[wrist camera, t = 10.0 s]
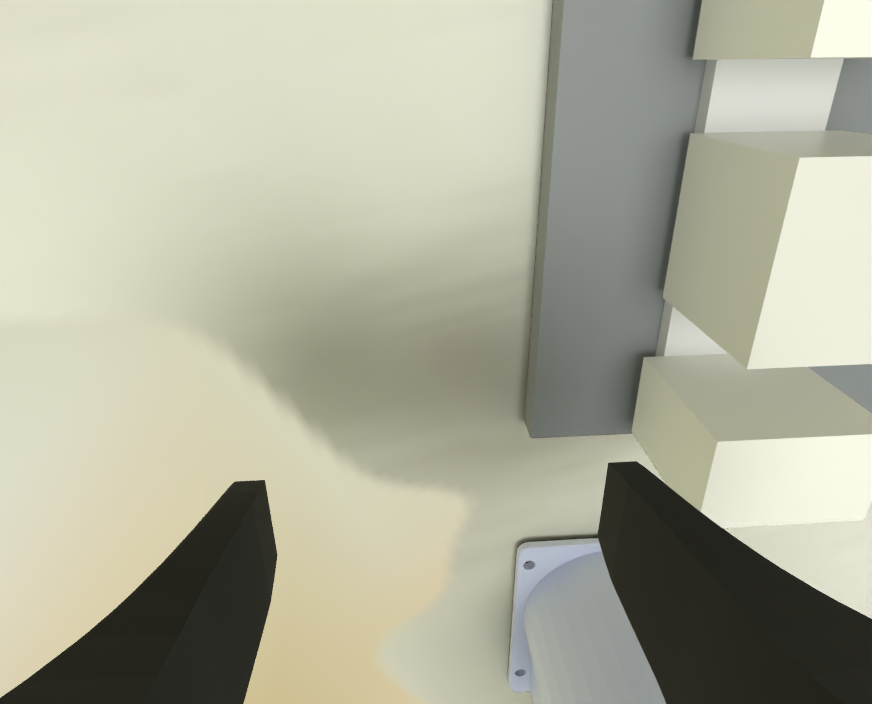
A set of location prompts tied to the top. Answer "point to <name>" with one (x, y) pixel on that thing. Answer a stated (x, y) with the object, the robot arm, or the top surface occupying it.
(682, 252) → the block
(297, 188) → the top surface
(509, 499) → the top surface
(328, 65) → the top surface
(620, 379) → the rail panel
